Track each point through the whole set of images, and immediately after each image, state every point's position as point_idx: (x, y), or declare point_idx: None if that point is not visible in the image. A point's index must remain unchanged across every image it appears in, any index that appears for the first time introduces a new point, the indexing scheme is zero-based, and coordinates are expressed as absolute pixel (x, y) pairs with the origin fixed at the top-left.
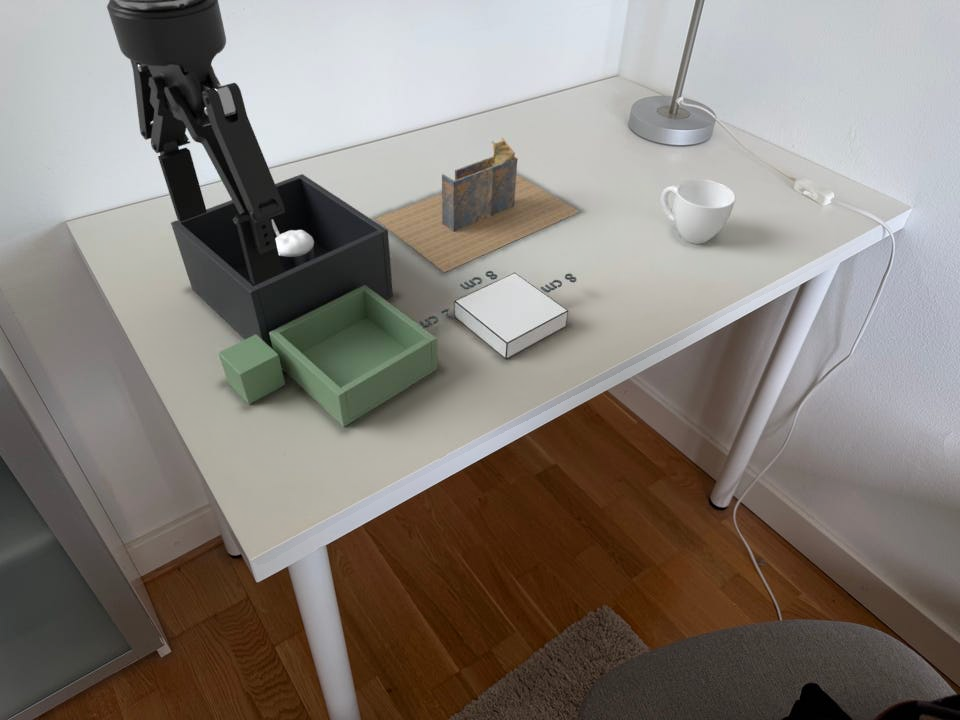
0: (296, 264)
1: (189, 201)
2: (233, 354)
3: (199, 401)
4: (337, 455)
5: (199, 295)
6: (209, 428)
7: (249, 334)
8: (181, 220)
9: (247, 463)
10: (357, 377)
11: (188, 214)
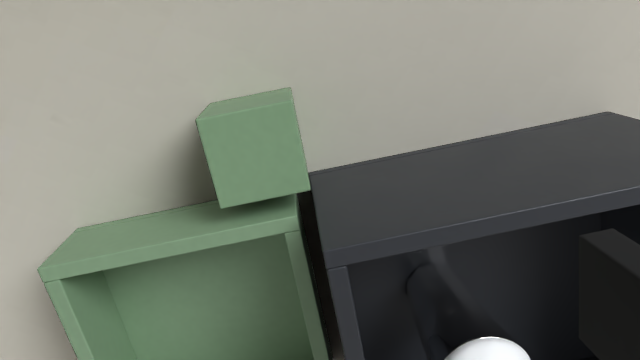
0: (432, 352)
1: (634, 337)
2: (268, 127)
3: (267, 20)
4: (15, 195)
5: (577, 118)
6: (182, 15)
7: (368, 171)
8: (582, 241)
9: (58, 50)
10: (174, 292)
11: (592, 282)
